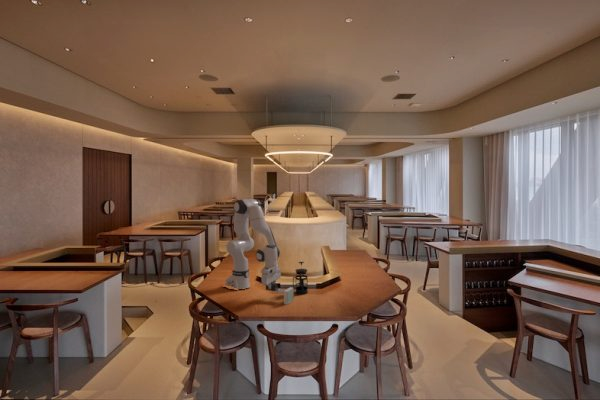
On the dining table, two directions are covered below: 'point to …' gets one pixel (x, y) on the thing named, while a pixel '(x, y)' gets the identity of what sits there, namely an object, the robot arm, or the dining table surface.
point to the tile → (288, 295)
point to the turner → (275, 288)
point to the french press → (301, 281)
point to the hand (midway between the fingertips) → (271, 287)
